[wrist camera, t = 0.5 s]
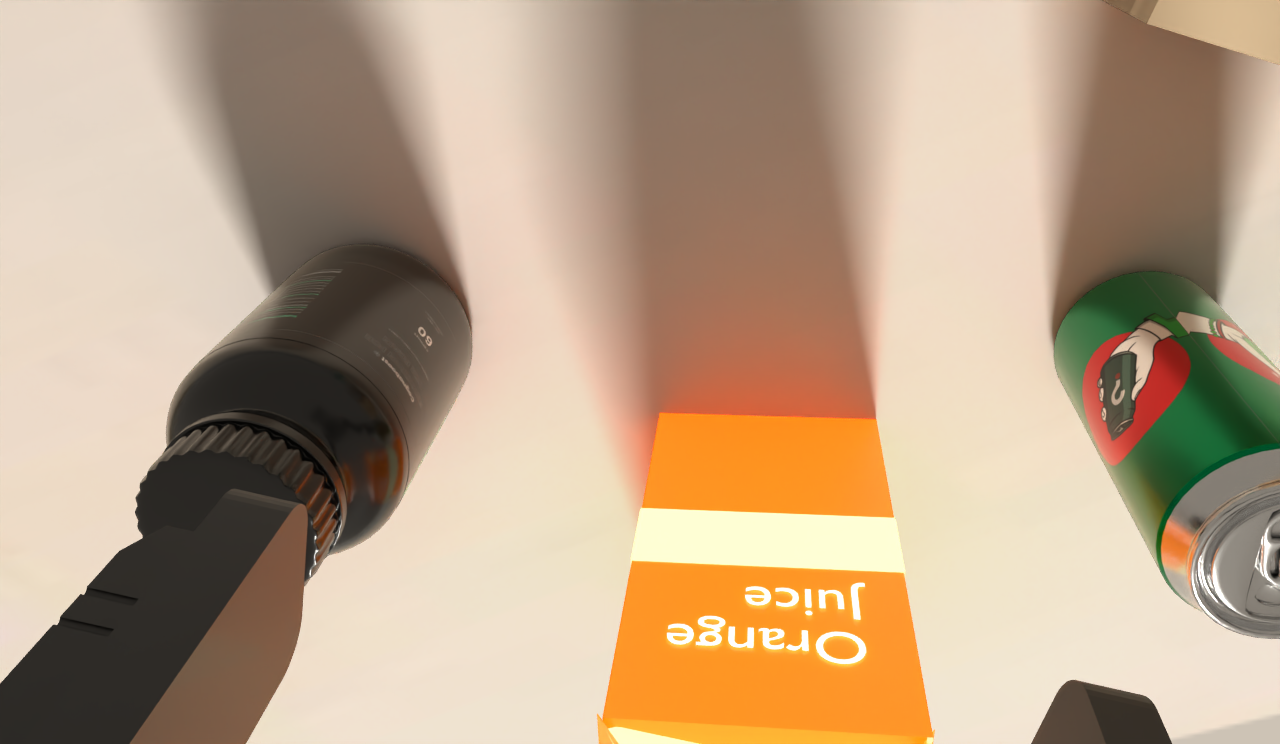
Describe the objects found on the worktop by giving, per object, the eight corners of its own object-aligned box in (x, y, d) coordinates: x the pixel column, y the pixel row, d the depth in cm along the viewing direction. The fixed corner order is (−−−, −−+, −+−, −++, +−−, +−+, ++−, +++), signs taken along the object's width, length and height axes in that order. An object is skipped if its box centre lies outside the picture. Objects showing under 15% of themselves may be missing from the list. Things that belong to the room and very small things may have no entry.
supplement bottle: (505, 392, 38) (403, 612, 27) (336, 435, 40) (177, 659, 29) (429, 214, 35) (283, 382, 25) (251, 268, 37) (40, 448, 26)
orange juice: (880, 417, 37) (983, 965, 19) (863, 620, 41) (934, 1229, 23) (653, 411, 38) (550, 930, 20) (658, 610, 42) (575, 1190, 24)
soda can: (1051, 414, 36) (1169, 660, 25) (1047, 275, 34) (1173, 481, 23) (1212, 397, 35) (1403, 644, 25) (1218, 253, 33) (1432, 456, 22)
